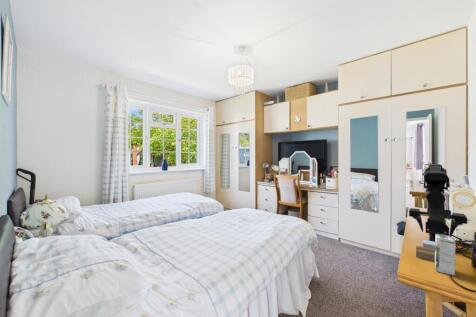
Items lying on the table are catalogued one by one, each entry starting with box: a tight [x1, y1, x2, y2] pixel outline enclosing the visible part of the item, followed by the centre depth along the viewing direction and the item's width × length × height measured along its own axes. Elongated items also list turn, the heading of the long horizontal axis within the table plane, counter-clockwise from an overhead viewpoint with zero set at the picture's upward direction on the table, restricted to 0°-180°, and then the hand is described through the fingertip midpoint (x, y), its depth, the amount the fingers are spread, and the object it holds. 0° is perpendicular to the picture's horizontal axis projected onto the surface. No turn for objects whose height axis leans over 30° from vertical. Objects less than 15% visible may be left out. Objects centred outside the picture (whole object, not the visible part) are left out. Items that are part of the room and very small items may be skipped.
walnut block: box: [415, 245, 435, 263], centre depth 100 cm, size 7×7×4 cm
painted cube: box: [422, 239, 435, 249], centre depth 103 cm, size 5×5×5 cm
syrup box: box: [434, 234, 456, 276], centre depth 88 cm, size 6×6×14 cm
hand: (436, 233), depth 94 cm, fingers open, 9 cm apart
